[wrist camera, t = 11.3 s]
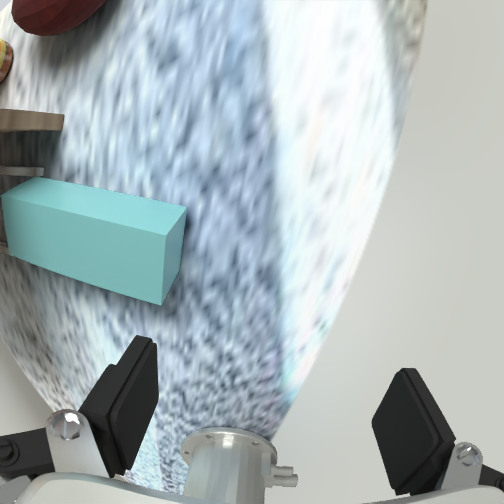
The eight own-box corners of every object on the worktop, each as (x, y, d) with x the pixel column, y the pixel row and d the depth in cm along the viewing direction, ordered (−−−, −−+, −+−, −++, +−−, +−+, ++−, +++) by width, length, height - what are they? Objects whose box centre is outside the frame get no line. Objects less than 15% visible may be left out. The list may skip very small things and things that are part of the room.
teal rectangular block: (39, 231, 26) (10, 255, 22) (35, 176, 23) (0, 194, 19) (179, 270, 27) (161, 305, 22) (187, 207, 24) (166, 235, 19)
